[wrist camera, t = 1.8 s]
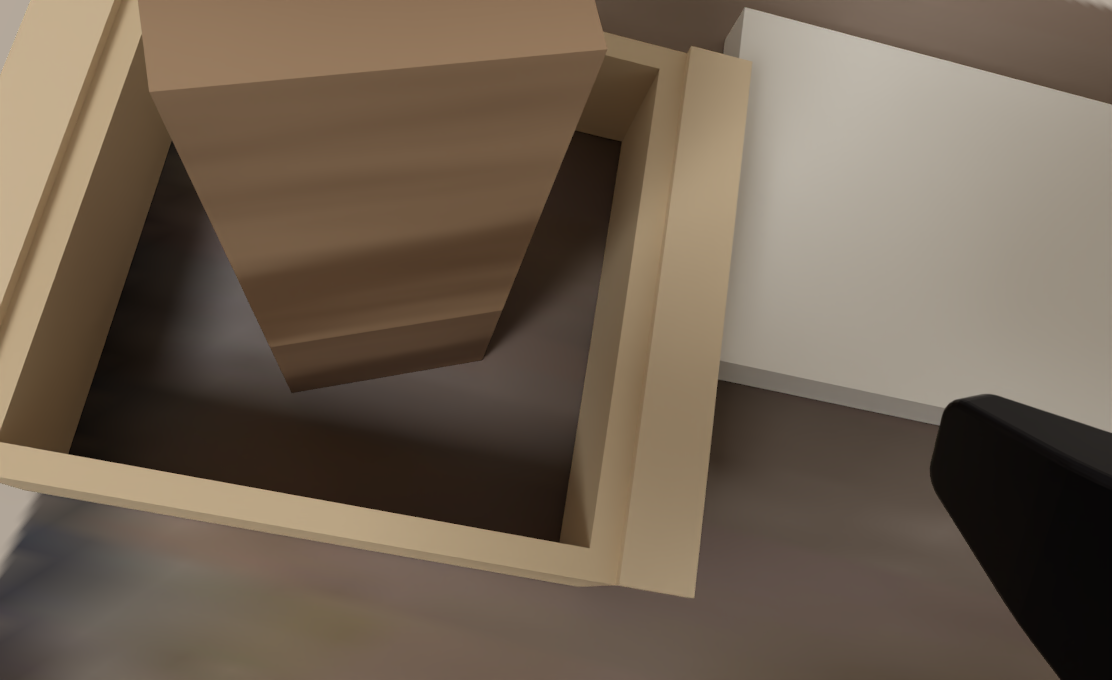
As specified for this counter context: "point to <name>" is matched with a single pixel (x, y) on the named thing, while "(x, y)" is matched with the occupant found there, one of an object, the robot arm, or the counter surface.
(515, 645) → the counter surface
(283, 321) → the walnut box
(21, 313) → the light wooden tray
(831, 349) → the tile
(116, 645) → the counter surface
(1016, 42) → the counter surface
